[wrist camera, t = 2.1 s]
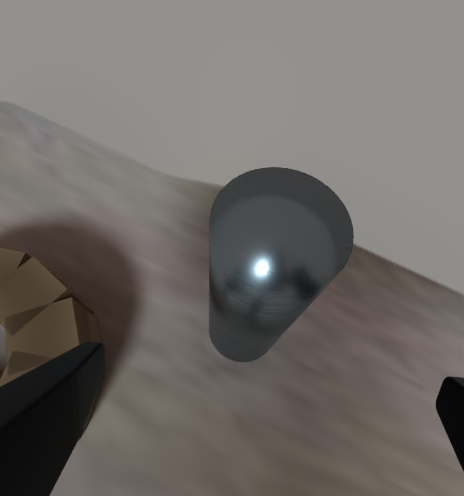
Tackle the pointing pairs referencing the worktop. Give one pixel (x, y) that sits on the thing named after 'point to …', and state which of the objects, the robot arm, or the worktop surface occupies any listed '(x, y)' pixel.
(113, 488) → the worktop surface
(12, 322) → the segmented wooden ring
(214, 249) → the tall steel post
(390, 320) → the worktop surface
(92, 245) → the worktop surface
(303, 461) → the worktop surface
